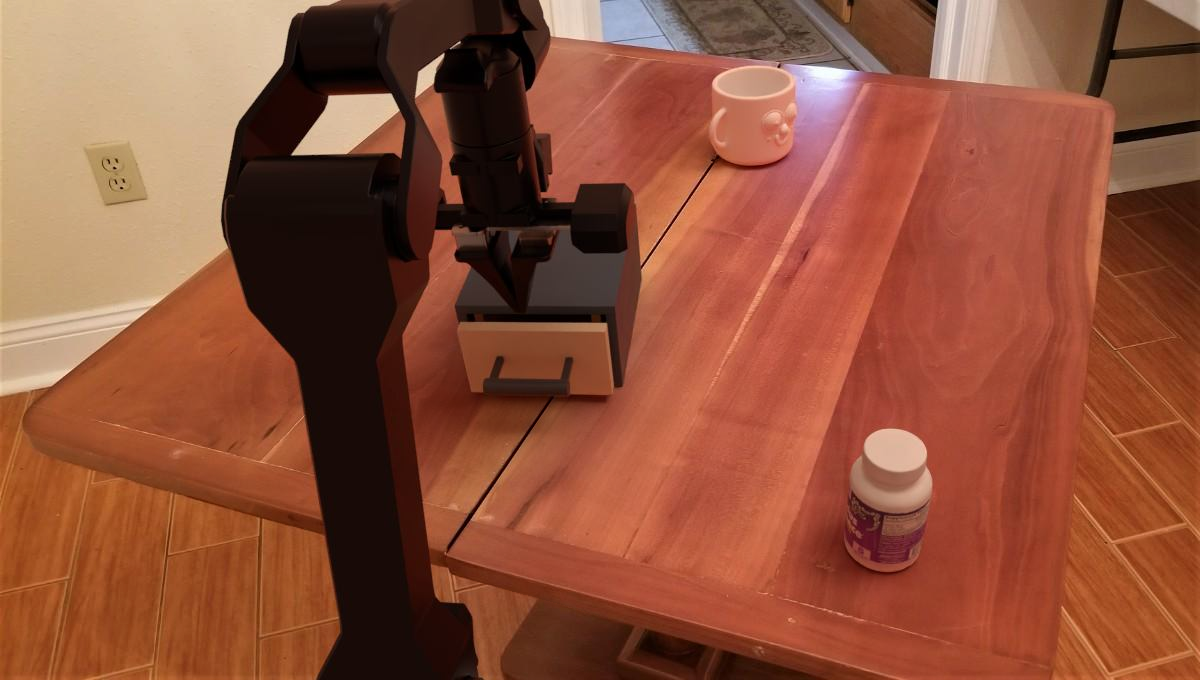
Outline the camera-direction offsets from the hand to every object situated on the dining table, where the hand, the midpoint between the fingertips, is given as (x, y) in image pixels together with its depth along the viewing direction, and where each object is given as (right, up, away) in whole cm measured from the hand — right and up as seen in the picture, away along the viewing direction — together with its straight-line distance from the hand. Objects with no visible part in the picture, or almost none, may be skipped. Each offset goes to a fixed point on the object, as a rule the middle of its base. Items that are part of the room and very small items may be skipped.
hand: (522, 310), depth 75 cm
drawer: (+2, -4, +11) cm, 12 cm away
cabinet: (+3, -1, +16) cm, 16 cm away
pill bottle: (+26, -17, -8) cm, 32 cm away
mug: (+24, +20, +40) cm, 51 cm away
